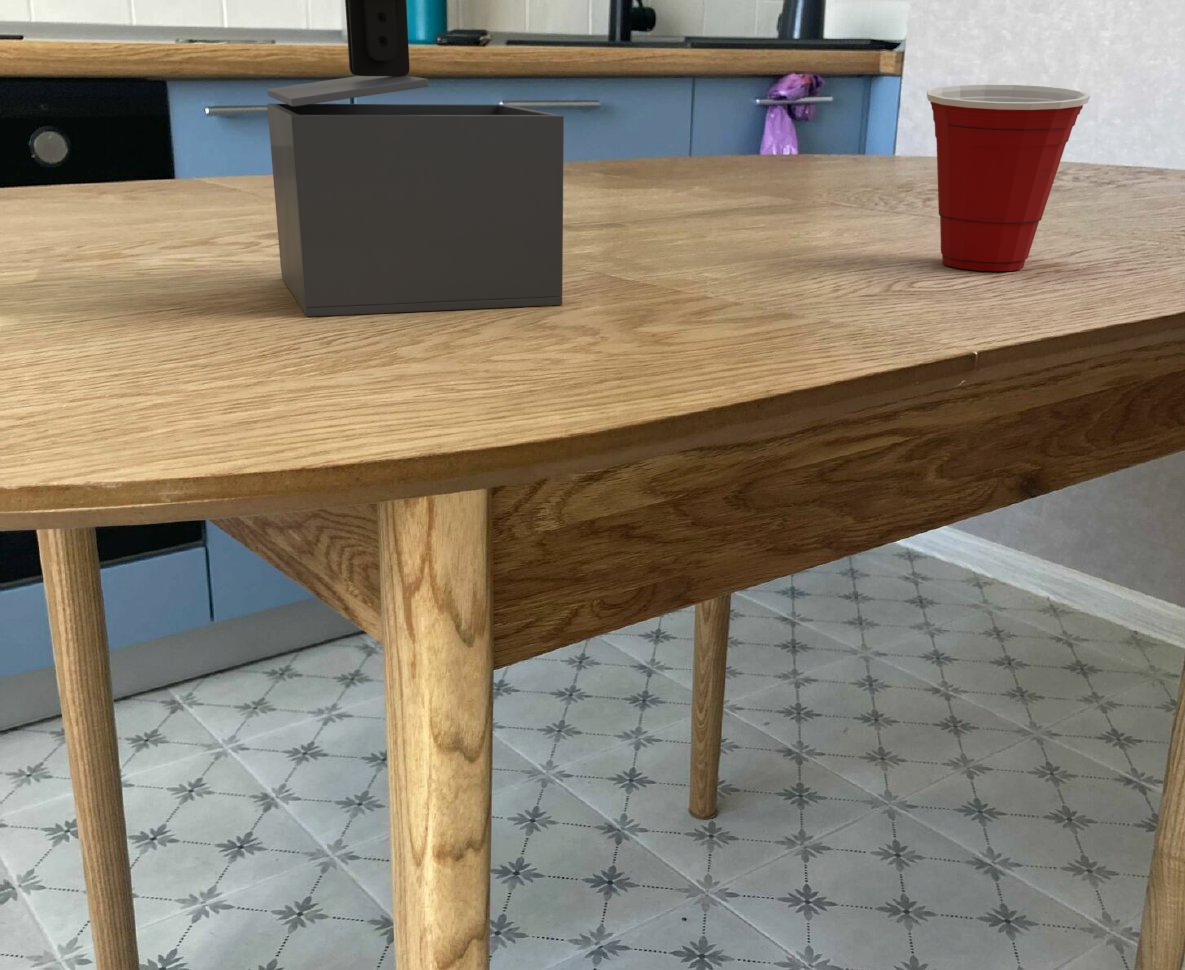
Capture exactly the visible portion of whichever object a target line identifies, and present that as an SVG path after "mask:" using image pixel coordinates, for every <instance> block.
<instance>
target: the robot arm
mask: <svg viewBox="0 0 1185 970" xmlns="http://www.w3.org/2000/svg"><path fill="white" fill-rule="evenodd" d="M407 3H408V2H407V0H344V4H345V21H346V37H347V39H346V40H347V53H348V67H349V71H350V73H351V74H352V75H353V76H408V74H410V73H409V72H410V69H411V68H410V51H409V50H410V48H409V27H408V25H409V24H408V6H407Z"/></svg>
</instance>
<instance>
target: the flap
mask: <svg viewBox="0 0 1185 970" xmlns="http://www.w3.org/2000/svg"><path fill="white" fill-rule="evenodd" d="M428 87H429V79H428V78H423V77H418V76H411V75H406V76H357V75H354V76H348V77H342V78H335V79H327V80H321V81H314V82H307V83H301V84H294V85H293V84H292V85H286V86H279V87H273V88H267V89H266V92H267V96H268V97H270V98H272V99H275V100H277V101H279V102H281V103H283V104H288V105H290V106H293V107H295V106H301V105H308V104H323V103H328V102H335V101H341V100H348V99H354V98H362V97H369V96H375V95H381V94H389V93H395V92H403V91H409V90H415V89H422V88H428Z"/></svg>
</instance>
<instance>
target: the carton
mask: <svg viewBox="0 0 1185 970" xmlns="http://www.w3.org/2000/svg"><path fill="white" fill-rule="evenodd" d="M266 105H267V117H268V118H267V119H268V129H269V143H270V154H271V165H272V178H273V190H274V202H275V213H276V214H275V216H276V228H277V238H278V249H279V252H278V253H279V262H280V275H281V278H282V280H283V282H284V283H285V285H286V287H287V288H288V290H289V291H290V293H291V294H292V296H293V297H294V299H295V301H296V303H298V305H299V307H300V308H301V310H302V311H303V313H304V315H305V317H308V318H310V317H311V318H313V317H332V316H333V317H335V316H354V315H355V316H356V315H374V314H375V315H377V314H396V313H416V312H417V313H419V312H438V311H441V312H442V311H461V310H463V311H464V310H483V309H502V308H505V309H507V308H525V307H547V306H549V307H550V306H562V305H563V277H564V275H563V268H564V267H563V262H564V260H563V258H564V256H563V255H564V253H563V252H564V148H565V147H564V146H565V145H564V140H565V139H564V136H565V135H564V134H565V133H564V132H565V129H564V128H565V125H564V124H565V116H564V115H561V114H557V113H552V112H546V111H540V110H537V109H536V110H535V109H530V108H524V107H519V106H514V105H510V104H503V103H500V104H499V103H498V104H497V103H492V104H491V103H315V104H308V105H301V106H295V107H293V106H290V105H288V104H286V103H275V102H274V103H270V102H269V103H267V104H266Z"/></svg>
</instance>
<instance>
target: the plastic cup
mask: <svg viewBox="0 0 1185 970" xmlns="http://www.w3.org/2000/svg"><path fill="white" fill-rule="evenodd" d="M926 98H927V101H928V102H930V105H931V110H932V120H933V123H934V137H935V139H936V166H937V167H936V168H937V169H936V172H937V202H938V203H937V204H938V206H937V207H938V215H939V228H940V231H939V233H940V253H941V257H942V258H941V259H942V264H943V265H945V266H947V267H950V268H957V269H961V270H971V271H979V272H980V271H981V272H1012V271H1019V270H1022V269H1024V266H1025V263H1026V261H1027V260H1028V258H1029V255H1030V251H1031V249H1032V245H1033V243H1034V239H1035V237H1036V233H1037V229H1038V227H1039V223H1040V222H1041V221H1042V218H1043V215H1044V213H1045V210H1046V207H1047V203H1048V200H1049V197H1050V194H1051V191H1052V188H1053V185H1054V182H1055V178H1056V176H1057V173H1058V169H1059V166H1060V164H1061V160H1062V157H1063V154H1064V151H1065V148H1066V144H1067V143H1068V142H1069V140H1070V137H1071V134H1072V130H1073V128H1074V126H1076V122H1077V119H1078V116H1079V115H1080V114H1081V110H1083V107H1084V105H1086V104H1088V103H1089V100H1090V98H1091V95H1090V94H1088V93H1087V92H1085V91H1081V90H1076V89H1070V88H1063V87H1052V86H1045V85H1042V86H1041V85H1022V84H966V85H965V84H964V85H963V84H961V85H951V86H949V85H948V86H941V87H935V88H931V89H928V90H926Z"/></svg>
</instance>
